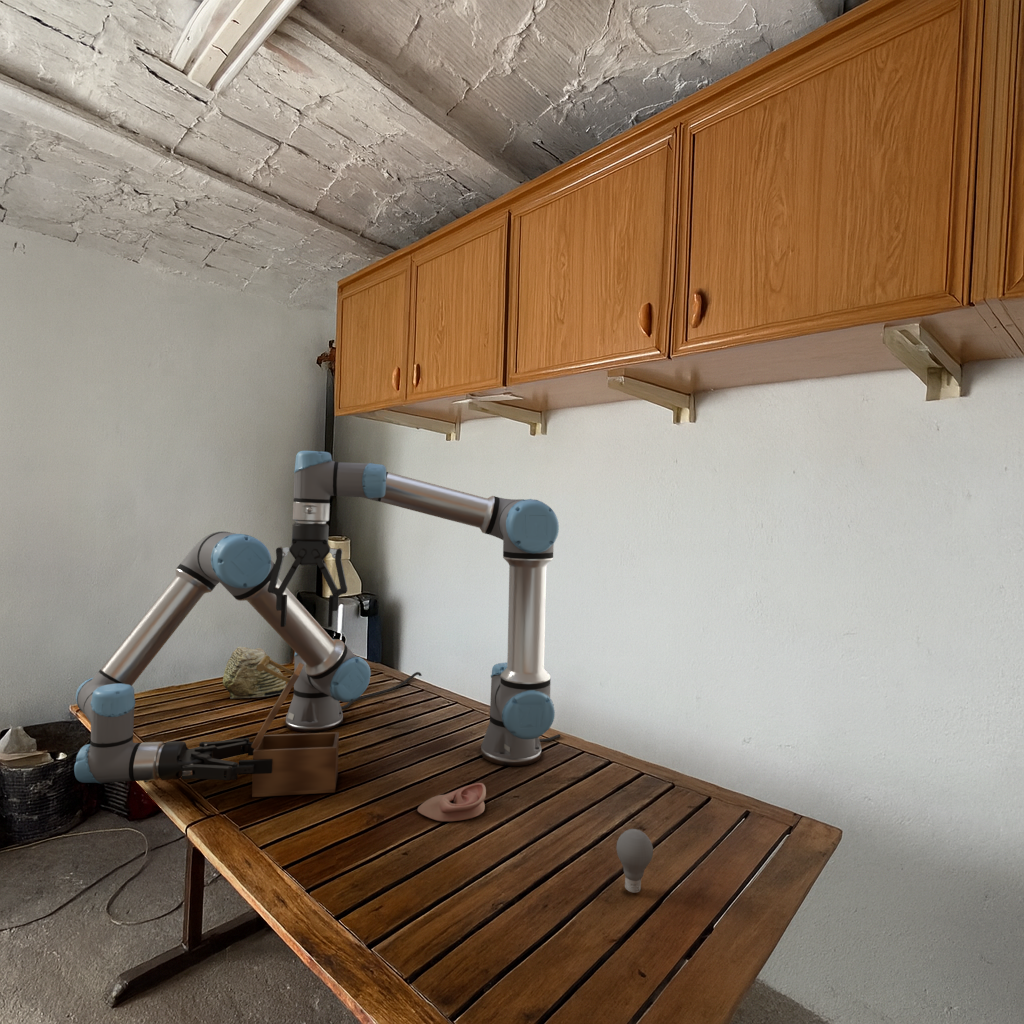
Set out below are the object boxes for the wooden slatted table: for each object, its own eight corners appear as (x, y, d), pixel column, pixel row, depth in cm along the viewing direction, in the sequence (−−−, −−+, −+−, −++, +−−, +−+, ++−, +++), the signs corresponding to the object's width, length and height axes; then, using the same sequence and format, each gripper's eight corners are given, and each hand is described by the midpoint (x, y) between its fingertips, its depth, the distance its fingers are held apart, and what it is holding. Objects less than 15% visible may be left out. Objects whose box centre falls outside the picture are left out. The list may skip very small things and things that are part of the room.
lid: (304, 664, 142) (269, 647, 141) (298, 675, 133) (261, 657, 132) (263, 733, 141) (227, 716, 139) (255, 749, 132) (217, 731, 131)
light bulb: (610, 879, 108) (613, 822, 108) (644, 879, 109) (647, 822, 109) (619, 902, 102) (622, 840, 102) (655, 901, 103) (658, 840, 103)
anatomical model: (412, 797, 126) (431, 773, 138) (411, 817, 126) (430, 791, 138) (476, 807, 124) (490, 781, 135) (476, 827, 124) (489, 800, 135)
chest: (337, 774, 145) (338, 732, 144) (334, 792, 136) (336, 747, 135) (259, 778, 141) (261, 735, 141) (251, 797, 132) (253, 751, 132)
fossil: (218, 695, 195) (220, 647, 195) (278, 685, 208) (279, 640, 207) (228, 703, 189) (230, 653, 188) (289, 692, 201) (290, 645, 201)
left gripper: (178, 757, 143) (282, 753, 148) (142, 803, 122) (266, 797, 127) (179, 724, 143) (283, 721, 148) (144, 764, 122) (267, 760, 127)
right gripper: (254, 521, 132) (250, 629, 132) (361, 525, 136) (357, 629, 136) (261, 519, 139) (257, 622, 139) (362, 523, 143) (358, 622, 144)
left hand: (275, 756), depth 137 cm, fingers closed on chest, 9 cm apart
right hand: (306, 625), depth 138 cm, fingers open, 9 cm apart
